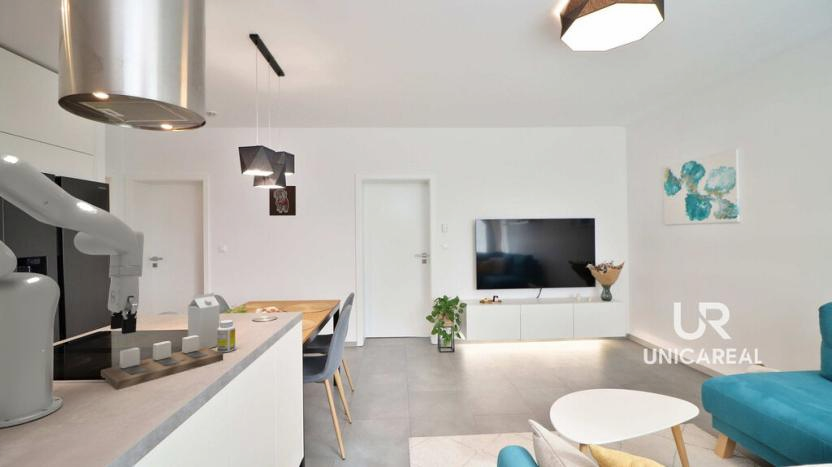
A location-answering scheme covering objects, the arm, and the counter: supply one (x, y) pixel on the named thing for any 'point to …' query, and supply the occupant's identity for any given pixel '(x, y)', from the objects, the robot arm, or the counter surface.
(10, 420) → the robot arm
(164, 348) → the knob middle
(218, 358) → the switch board
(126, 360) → the knob left
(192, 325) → the milk carton
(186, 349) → the knob right
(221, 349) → the supplement bottle
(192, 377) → the counter surface
